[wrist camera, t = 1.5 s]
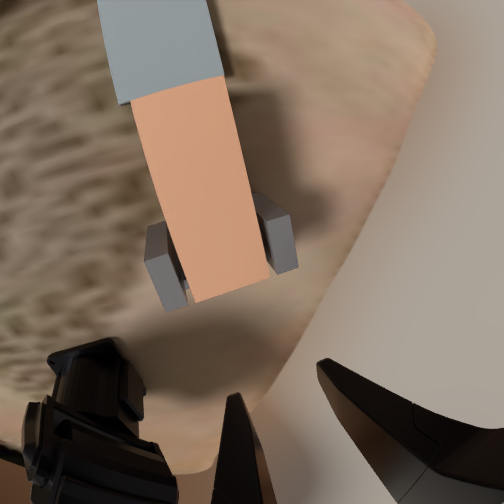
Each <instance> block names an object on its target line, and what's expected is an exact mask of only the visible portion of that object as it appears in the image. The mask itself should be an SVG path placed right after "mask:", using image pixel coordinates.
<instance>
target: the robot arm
mask: <svg viewBox="0 0 504 504" xmlns="http://www.w3.org/2000/svg"><path fill="white" fill-rule="evenodd" d="M107 345H110V346H107ZM53 361H54V362H53ZM47 363H48V365H49V366H50V367H51V369H52V370H53V371H54V372H55V374H56V375H57V377H56V381H55V385H54V389H53V393H52V397H50V396H49V395H46V397H45V398H44V400H43V401H42V402H41V403H40V402H38V403H37V402H29V403H28V405H27V408H26V412H25V416H24V420H23V425H22V454H23V456H24V462H25V468H26V473H27V478H28V481H30V482H32V483H33V485H32V490H31V497H30V500H31V503H32V504H178V499H179V490H178V484H177V479H176V477H175V476H174V475H172V473H171V471H170V469H169V467H168V465H167V462H166V460H165V458H164V456H163V454H162V452H161V450H160V448H159V445H158V444H157V443H154V442H148V441H145V440H142V439H139V422H138V421H142V420H143V418H144V407H143V396H145V395H146V388H145V387H144V386H143V381H142V379H141V378H140V376H139V375H138V373H137V372H136V370H135V369H134V367H133V366H132V364H131V363H130V361H128V360H127V359H125V358H124V356H123V355H122V353H121V351H120V350H119V348H118V347H117V345H116V344H115V342H114V341H113V340H111V339H104V340H101V341H97V342H94V343H90V344H87V345H83V346H80V347H76V348H73V349H69V350H66V351H62V352H59V353H55V354H51V355H49V356H48V358H47ZM316 366H317V375H318V380H319V383H320V385H321V387H322V389H323V391H324V393H325V394H326V397H327V399H328V401H329V403H330V405H331V407H332V409H333V411H334V413H335V415H336V416H337V418H338V420H339V422H340V423H341V425H342V426H343V427H344V429H345V430H346V432H347V433H348V435H349V436H350V437H351V439H352V440H353V441H354V443H355V445H356V446H357V448H358V449H359V450H360V452H361V453H362V455H363V456H364V458H365V459H366V460H367V462H368V463H369V464H370V466H371V467H372V469H373V470H374V472H375V473H376V475H377V476H378V477H379V479H380V480H381V482H382V483H383V484H384V486H385V487H386V489H387V490H388V491H389V492H390V494H391V495H392V497H393V498H394V499H395V501H396V502H397V503H398V504H504V428H499V429H486V428H480V427H476V426H473V425H470V424H466V423H463V422H460V421H457V420H454V419H450V418H448V417H445V416H442V415H439V414H436V413H434V412H432V411H430V410H427V409H425V408H423V407H421V406H419V405H416V404H415V403H412V402H411V401H409V400H407V399H405V398H403V397H401V396H399V395H397V394H395V393H393V392H391V391H389V390H387V389H385V388H383V387H382V386H380V385H378V384H376V383H374V382H372V381H370V380H368V379H366V378H364V377H363V376H360V375H359V374H357V373H355V372H353V371H352V370H350V369H348V368H346V367H344V366H342V365H341V364H339V363H337V362H335V361H333V360H332V359H330V358H325V359H323V360H320V361H319V362H317V364H316ZM214 488H215V489H213V493H212V500H211V504H277V501H276V497H275V494H274V490H273V486H272V482H271V478H270V474H269V471H268V467H267V463H266V459H265V455H264V451H263V448H262V445H261V443H260V440H259V438H258V435H257V433H256V430H255V428H254V425H253V423H252V420H251V417H250V415H249V412H248V410H247V407H246V405H245V403H244V400H243V398H242V396H241V394H240V393H239V392H237V393H234V394H231V395H229V396H228V397H227V401H226V408H225V414H224V421H223V428H222V434H221V441H220V447H219V454H218V461H217V468H216V474H215V481H214Z"/></svg>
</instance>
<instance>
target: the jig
mask: <svg viewBox="0 0 504 504" xmlns="http://www.w3.org/2000/svg"><path fill="white" fill-rule="evenodd" d="M252 198H253V202H254V207H255V211H256V216H257V220H258V224H259V229H260V233H261V238H262V242H263V247H264V251H265V256H266V260H267V262H268V263H269V264H270V266H271V267H272V268H273V269H274V271H275V272H276V273H277V275H278V274H281V273H284V272H287V271H290V270H292V269H295V268H298V267H299V266H298V260H297V254H296V248H295V242H294V236H293V231H292V225H291V219H290V214H288V213H287V212H286V211H284V210H283V209H282V208H280V207H279V206H278V205H276V204H275V203H274V202H272V201H271V200H269V199H268V198H267V197H265V196H264V195H263V194H261V193H260V192H256V193H253V194H252ZM144 263H145V265H146V268H147V270H148V272H149V275H150V277H151V279H152V282H153V284H154V286H155V289H156V291H157V293H158V295H159V298H160V300H161V302H162V304H163V307H164V309H165V311H166V312H169V311H172V310H175V309H178V308H181V307H184V306H187V305H188V301H187V296H186V290H185V289H188V288H190V287H189V284H188V281H187V279H186V276H185V273H184V271H183V268H182V266H181V263H180V260H179V257H178V254H177V252H176V249H175V246H174V243H173V240H172V237H171V235H170V232H169V229H168V226H167V223H166V221H164V222H161V223H158V224H155V225H152V226H149V227H148V228H147V237H146V246H145V256H144Z"/></svg>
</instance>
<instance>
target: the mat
mask: <svg viewBox="0 0 504 504" xmlns="http://www.w3.org/2000/svg"><path fill="white" fill-rule="evenodd" d="M97 3H98V9H99V15H100V21H101V27H102V32H103V37H104V42H105V47H106V52H107V57H108V61H109V66H110V70H111V75H112V79H113V83H114V88H115V92H116V96H117V100H118V104H119V105H120V106H121V105H124V104H127V103H130V101H131V100H134V99H137V98H140V97H143V96H146V95H149V94H153V93H156V92H159V91H163V90H166V89H170V88H173V87H177V86H180V85H184V84H188V83H192V82H196V81H200V80H204V79H209V78H213V77H218V76H223V75H224V71H223V67H222V63H221V58H220V54H219V50H218V46H217V42H216V38H215V34H214V30H213V26H212V22H211V18H210V14H209V10H208V6H207V2H206V0H97Z"/></svg>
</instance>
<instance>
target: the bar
mask: <svg viewBox="0 0 504 504" xmlns="http://www.w3.org/2000/svg"><path fill="white" fill-rule="evenodd" d="M130 102H131V106H132V110H133V114H134V118H135V121H136V125H137V129H138V132H139V136H140V139H141V143H142V146H143V150H144V153H145V157H146V160H147V163H148V167H149V170H150V173H151V177H152V180H153V183H154V186H155V189H156V193H157V196H158V199H159V202H160V205H161V208H162V211H163V214H164V217H165V220H166V223H167V226H168V229H169V232H170V235H171V237H172V240H173V243H174V246H175V249H176V252H177V254H178V257H179V260H180V263H181V265H182V268H183V271H184V273H185V276H186V279H187V281H188V284H189V287H190V289H191V292H192V294H193V297H194V300H195V302H199V301H202V300H205V299H208V298H211V297H214V296H217V295H220V294H223V293H226V292H229V291H232V290H235V289H238V288H241V287H244V286H247V285H250V284H253V283H255V282H258V281H261V280H264V279H267V278H270V274H269V269H268V265H267V260H266V256H265V251H264V247H263V242H262V238H261V233H260V229H259V224H258V220H257V216H256V211H255V207H254V202H253V198H252V194H251V189H250V185H249V181H248V176H247V172H246V168H245V163H244V159H243V155H242V151H241V146H240V142H239V138H238V134H237V129H236V125H235V121H234V117H233V112H232V108H231V104H230V100H229V96H228V92H227V87H226V83H225V79H224V75H223V76H218V77H213V78H209V79H204V80H200V81H196V82H192V83H188V84H184V85H180V86H177V87H173V88H170V89H166V90H163V91H159V92H156V93H153V94H149V95H146V96H143V97H140V98H137V99H134V100H131V101H130Z"/></svg>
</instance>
